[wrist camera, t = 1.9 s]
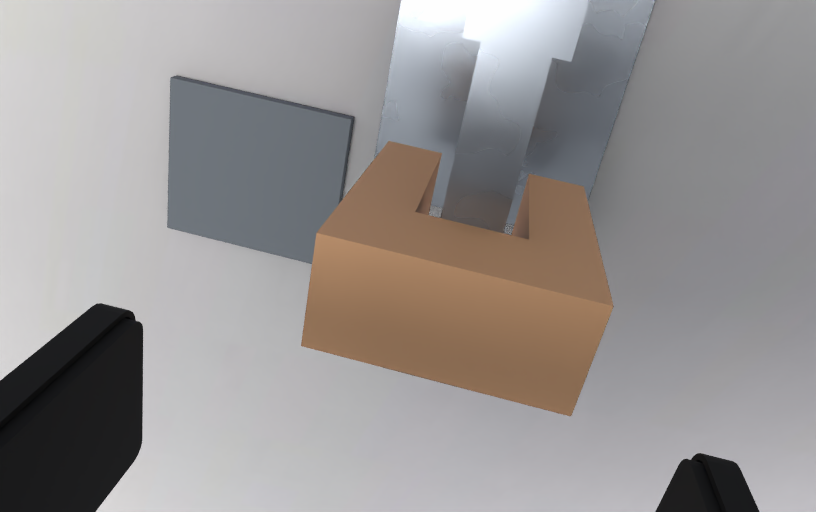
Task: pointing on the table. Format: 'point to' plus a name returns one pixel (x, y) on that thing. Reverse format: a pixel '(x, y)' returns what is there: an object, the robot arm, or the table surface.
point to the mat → (253, 167)
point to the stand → (508, 94)
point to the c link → (460, 286)
